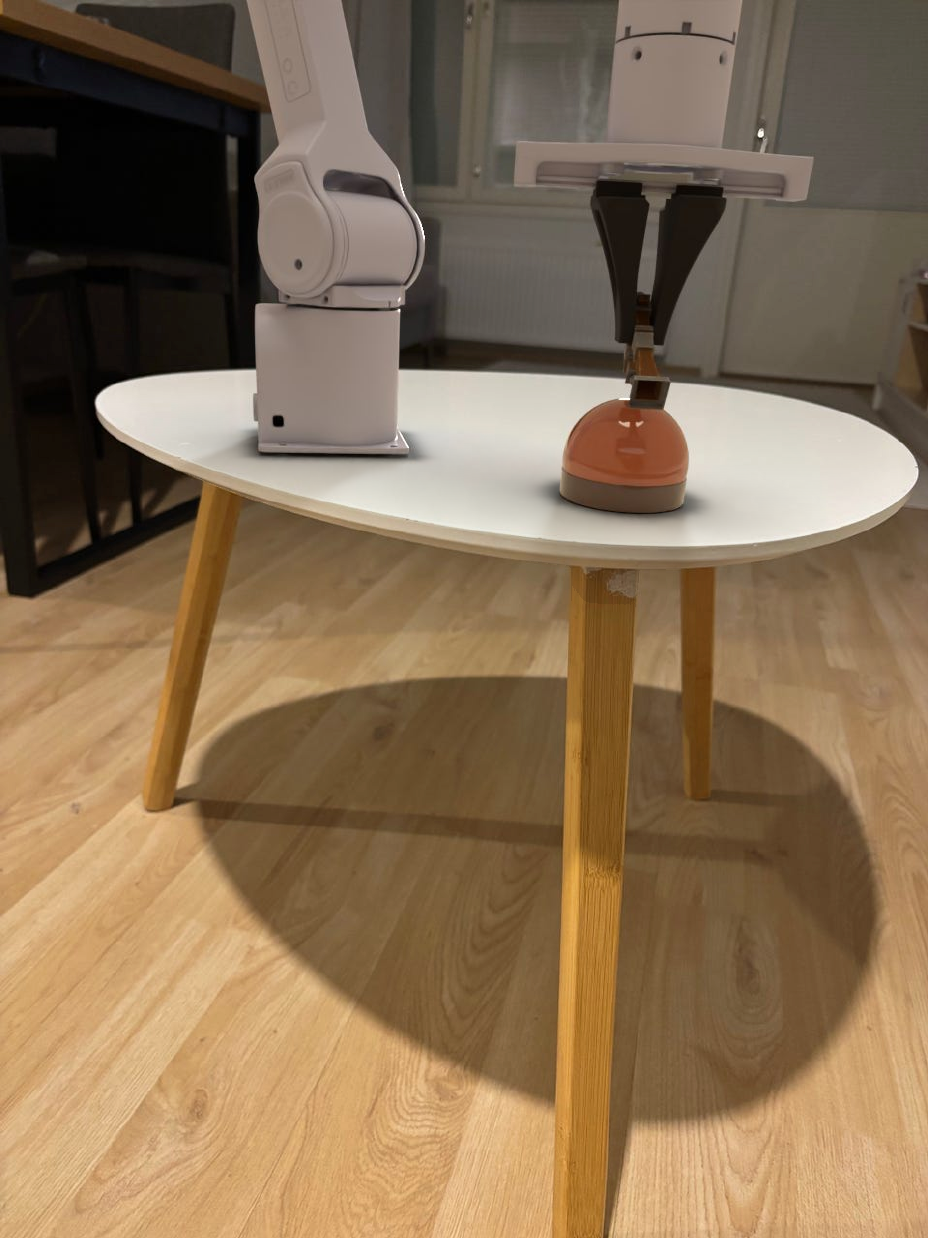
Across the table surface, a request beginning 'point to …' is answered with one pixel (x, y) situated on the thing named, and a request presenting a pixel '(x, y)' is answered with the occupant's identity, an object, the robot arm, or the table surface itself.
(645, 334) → the wooden post with brackets
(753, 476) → the table surface
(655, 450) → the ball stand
